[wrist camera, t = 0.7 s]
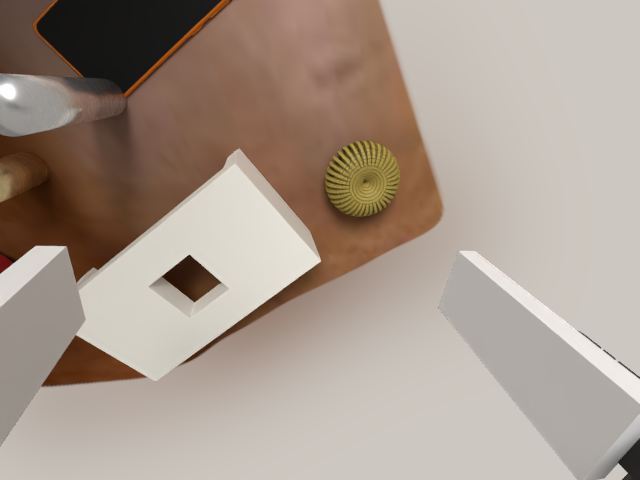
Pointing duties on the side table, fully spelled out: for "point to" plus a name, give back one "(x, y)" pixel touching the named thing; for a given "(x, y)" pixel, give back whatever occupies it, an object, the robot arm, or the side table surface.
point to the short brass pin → (21, 174)
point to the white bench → (213, 254)
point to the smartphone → (121, 34)
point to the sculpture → (362, 178)
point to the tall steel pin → (55, 102)
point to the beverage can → (4, 263)
